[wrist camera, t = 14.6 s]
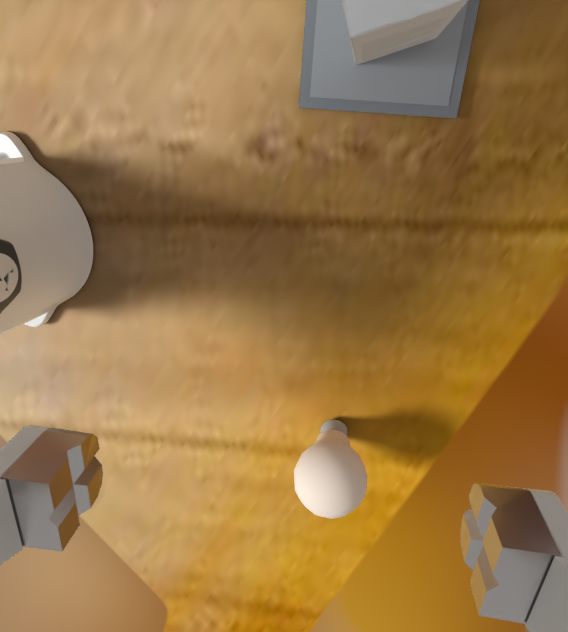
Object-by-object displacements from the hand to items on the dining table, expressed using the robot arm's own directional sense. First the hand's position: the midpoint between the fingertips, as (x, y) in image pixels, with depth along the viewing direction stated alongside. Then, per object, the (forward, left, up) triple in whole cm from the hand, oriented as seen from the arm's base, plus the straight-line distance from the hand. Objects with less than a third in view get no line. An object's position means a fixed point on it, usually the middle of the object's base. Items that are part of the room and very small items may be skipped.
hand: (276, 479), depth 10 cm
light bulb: (+2, -22, -33) cm, 40 cm away
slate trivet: (+2, +14, -33) cm, 35 cm away
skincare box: (+2, +14, -32) cm, 35 cm away
